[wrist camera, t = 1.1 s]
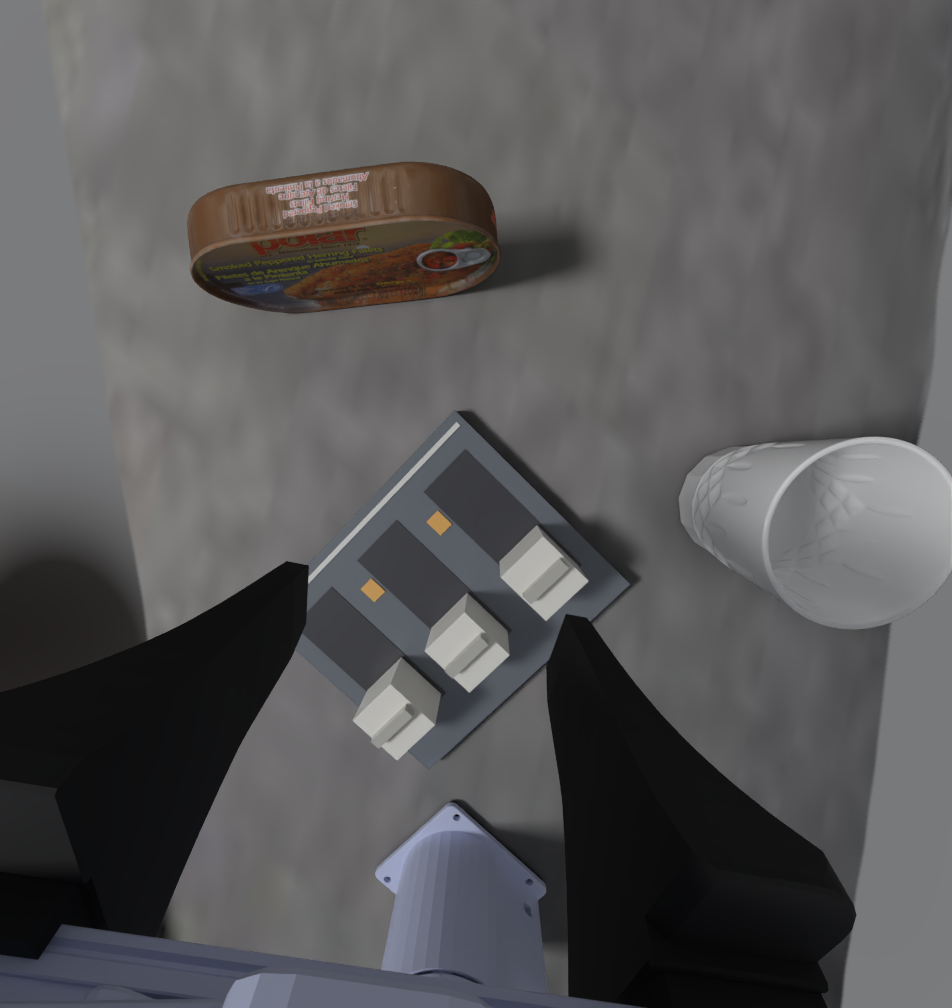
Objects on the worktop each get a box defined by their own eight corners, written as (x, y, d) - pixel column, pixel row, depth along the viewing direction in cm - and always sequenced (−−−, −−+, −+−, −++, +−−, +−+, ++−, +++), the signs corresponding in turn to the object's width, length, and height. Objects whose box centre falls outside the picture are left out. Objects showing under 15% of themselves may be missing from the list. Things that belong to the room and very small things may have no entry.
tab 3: (577, 564, 28) (591, 584, 24) (539, 600, 28) (547, 625, 24) (536, 524, 27) (544, 538, 24) (499, 561, 28) (500, 580, 24)
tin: (250, 319, 28) (145, 268, 19) (241, 264, 27) (131, 187, 19) (499, 291, 27) (504, 226, 19) (494, 234, 26) (497, 141, 18)
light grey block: (441, 693, 29) (433, 731, 25) (406, 725, 30) (394, 767, 26) (401, 657, 29) (388, 689, 25) (367, 690, 29) (349, 727, 26)
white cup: (643, 485, 28) (726, 511, 18) (756, 410, 27) (907, 395, 17) (710, 587, 29) (824, 664, 19) (821, 517, 28) (1001, 560, 18)
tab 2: (507, 630, 29) (510, 660, 25) (471, 664, 29) (468, 698, 25) (467, 592, 28) (463, 616, 24) (431, 627, 29) (422, 656, 25)
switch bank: (625, 579, 29) (630, 584, 28) (430, 759, 31) (428, 770, 30) (456, 411, 28) (454, 410, 27) (265, 610, 30) (257, 617, 29)
